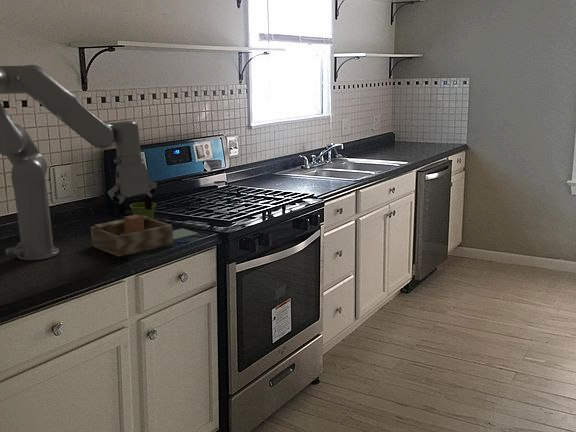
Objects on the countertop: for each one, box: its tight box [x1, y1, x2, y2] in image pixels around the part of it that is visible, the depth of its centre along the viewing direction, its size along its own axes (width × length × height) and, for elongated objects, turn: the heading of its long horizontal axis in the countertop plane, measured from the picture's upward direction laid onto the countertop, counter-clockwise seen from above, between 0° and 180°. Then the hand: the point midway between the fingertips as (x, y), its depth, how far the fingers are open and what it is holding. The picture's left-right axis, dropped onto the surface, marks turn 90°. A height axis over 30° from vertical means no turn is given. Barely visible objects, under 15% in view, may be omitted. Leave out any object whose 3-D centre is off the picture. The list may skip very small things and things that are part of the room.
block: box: [123, 214, 144, 234], centre depth 214 cm, size 4×4×6 cm
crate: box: [90, 215, 174, 258], centre depth 217 cm, size 20×18×7 cm
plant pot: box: [129, 201, 157, 219], centre depth 239 cm, size 9×9×9 cm
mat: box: [172, 228, 200, 241], centre depth 229 cm, size 10×10×1 cm
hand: (135, 212), depth 213 cm, fingers open, 9 cm apart
